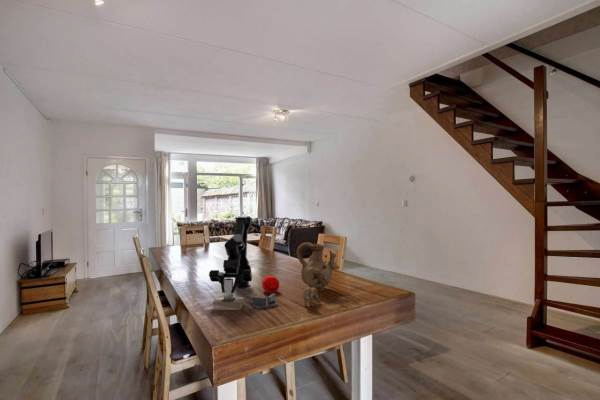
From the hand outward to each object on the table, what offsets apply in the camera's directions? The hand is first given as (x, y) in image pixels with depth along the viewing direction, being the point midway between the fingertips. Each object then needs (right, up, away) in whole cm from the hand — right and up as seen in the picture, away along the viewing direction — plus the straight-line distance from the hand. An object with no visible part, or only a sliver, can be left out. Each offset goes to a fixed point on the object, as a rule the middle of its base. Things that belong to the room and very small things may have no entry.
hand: (227, 292), depth 133 cm
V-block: (+15, -7, +5) cm, 17 cm away
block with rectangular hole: (0, -7, +1) cm, 7 cm away
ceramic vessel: (+41, -7, +27) cm, 50 cm away
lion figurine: (+37, -7, +4) cm, 38 cm away
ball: (+16, -7, +24) cm, 30 cm away
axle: (0, -7, +1) cm, 7 cm away
